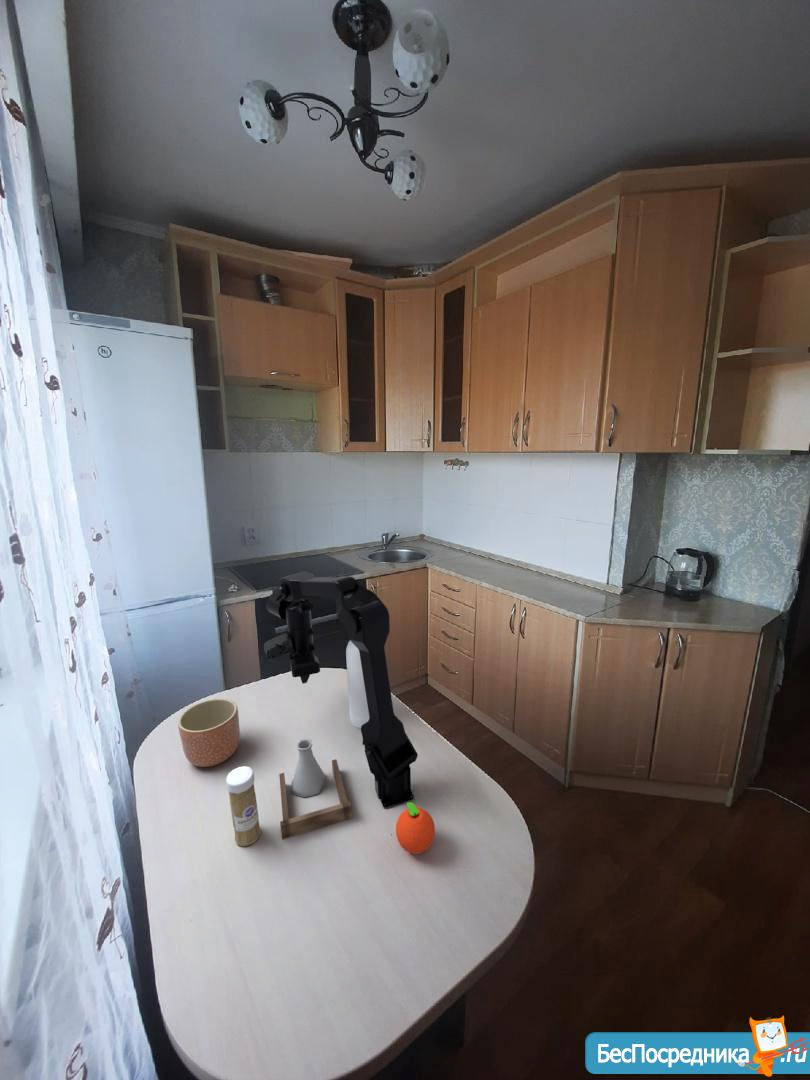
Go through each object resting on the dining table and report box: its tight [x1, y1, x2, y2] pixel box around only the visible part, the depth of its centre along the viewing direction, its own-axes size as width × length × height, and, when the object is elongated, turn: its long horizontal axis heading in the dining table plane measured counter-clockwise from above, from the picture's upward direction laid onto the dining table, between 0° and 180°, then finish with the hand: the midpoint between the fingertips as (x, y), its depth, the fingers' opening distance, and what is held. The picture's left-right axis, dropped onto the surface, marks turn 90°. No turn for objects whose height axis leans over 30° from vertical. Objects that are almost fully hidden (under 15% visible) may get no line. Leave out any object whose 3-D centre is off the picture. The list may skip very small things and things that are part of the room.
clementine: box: [395, 801, 436, 855], centre depth 77 cm, size 8×7×7 cm
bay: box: [278, 758, 353, 840], centre depth 86 cm, size 13×13×3 cm
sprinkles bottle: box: [225, 765, 262, 847], centre depth 78 cm, size 5×5×14 cm
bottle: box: [345, 640, 369, 729], centre depth 108 cm, size 8×8×30 cm
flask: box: [291, 738, 326, 798], centre depth 90 cm, size 7×7×10 cm
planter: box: [177, 697, 241, 768], centre depth 99 cm, size 12×12×11 cm
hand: (304, 682), depth 107 cm, fingers closed
